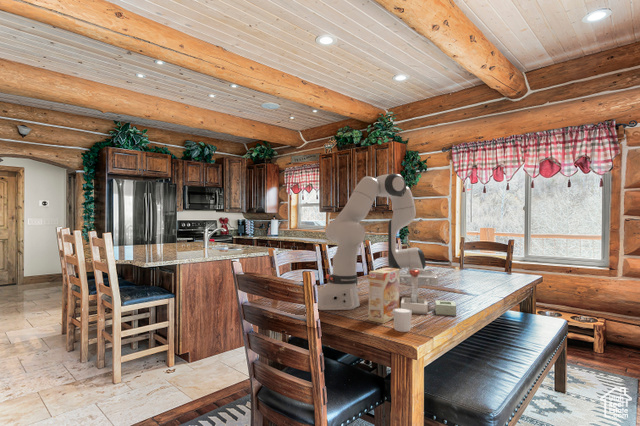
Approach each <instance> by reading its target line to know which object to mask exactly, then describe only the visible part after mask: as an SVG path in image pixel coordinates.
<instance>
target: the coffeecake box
mask: <svg viewBox="0 0 640 426" xmlns="http://www.w3.org/2000/svg"><path fill="white" fill-rule="evenodd" d="M400 270H401V269H396V268H391V267H382V268H378V269H375V270H371V271H368V321H370V322H374V323H379V324H385V323H387V322H390V321H391V320H394V318H393V309H396V308H400V283H399V281H400V274H401V273H400Z"/></svg>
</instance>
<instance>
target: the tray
mask: <svg viewBox="0 0 640 426" xmlns="http://www.w3.org/2000/svg"><path fill="white" fill-rule="evenodd" d="M400 308H405V309H409V310H411V311H412V314H417V315H418V314H419V315H428V298H419V297H418V303H411V297H403V296H402V297H401V301H400Z"/></svg>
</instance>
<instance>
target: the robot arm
mask: <svg viewBox="0 0 640 426" xmlns="http://www.w3.org/2000/svg"><path fill="white" fill-rule="evenodd" d="M376 198H389V199H390V201H391V205H392V211H393V213H392V217H391V219H390V220H388V228H387V230H388V231H387V241H388V243H387V248H388V249H387V250H388V251H387V252H388V253H387V257H386V258H387V264H388V268H396V269H400V270H402V269H407V268H408V270H407V271H406V273H400V281H399V284H406V285H409V286H411V274H409V270H420V274H418V287H422V286H439V285H438V284H439V277H438V275H437V274H436V273H435V272H434V271H432V270H427V269H425V268H426V266H427V265H426V263H427V262H426V257H425V253H424V251H423V249H421V248H420V247H410V248H403V249H397V233H398V232H399V231H400V230H401V229H403V228H404V227H406V226H408V225H410V224H411V223H412V222H413V221H414V220H415V219H416V215H417V213H416V212H417V210H416V205H415V204H416V203H415V200H414V196H413V193H412V191H411V188H410V187H409V186H407V183H406V181H405V179H404V177H403V176H402V175H401V174H399V173H390V174H387V173H386V174H382V175H381V174H380V175H379V176H375V177H373V176H364V177H362V179H360V181H359V182H358V183H357V184H356V186H355V188H354V189H353V191H352V193H351V195H350V197H349V198H348V201H347V203H346V204H345V206H344V207H343V208H342V209H341V211H340V212H339V213H338V214H337V216H336V217H334V219H333V221H331V222H330V223H329V224H327V226H326V228H325V236H326V238H327V239H328V240H329V241H330V242H333V243H335V244H337V248H336V251H335V254H334V255H333V257H332V273H331V275H330V274H326V275H325V278H326V279H327V280H328V282H326V284H325V285H323V287H321V288H320V289H318V290H317V292H318V308H319V311H337V310H338V311H339V310H340V311H342V310H343V311H344V310H345V311H347V310H350V311H352V310H354V309H355V308H358V307H360V305H361V304H360V299H359V294H358V284H359V283H358V281H359V279H358V274H357V263H358V262H357V261H358V253H359V249H360V246H361V245H362V243H363V242H364V241H365V239H366V235H367V231H366V229H365V227H364V226H363V225H362V224H361V222H362V221H363V220H364V219H365V218H366V217H367V216H368V214H369V212H370V210H371V208H372V206H373V204H374V202H375V200H376Z"/></svg>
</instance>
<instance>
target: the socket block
mask: <svg viewBox="0 0 640 426" xmlns="http://www.w3.org/2000/svg"><path fill="white" fill-rule="evenodd" d="M434 302H435V303H434V304H435V305H434V306H435V308H434V310H435V315H445V316H446V315H447V316H457V303H456V302H455V301H453V300H441V299H440V300H438V299H435V301H434Z"/></svg>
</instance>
